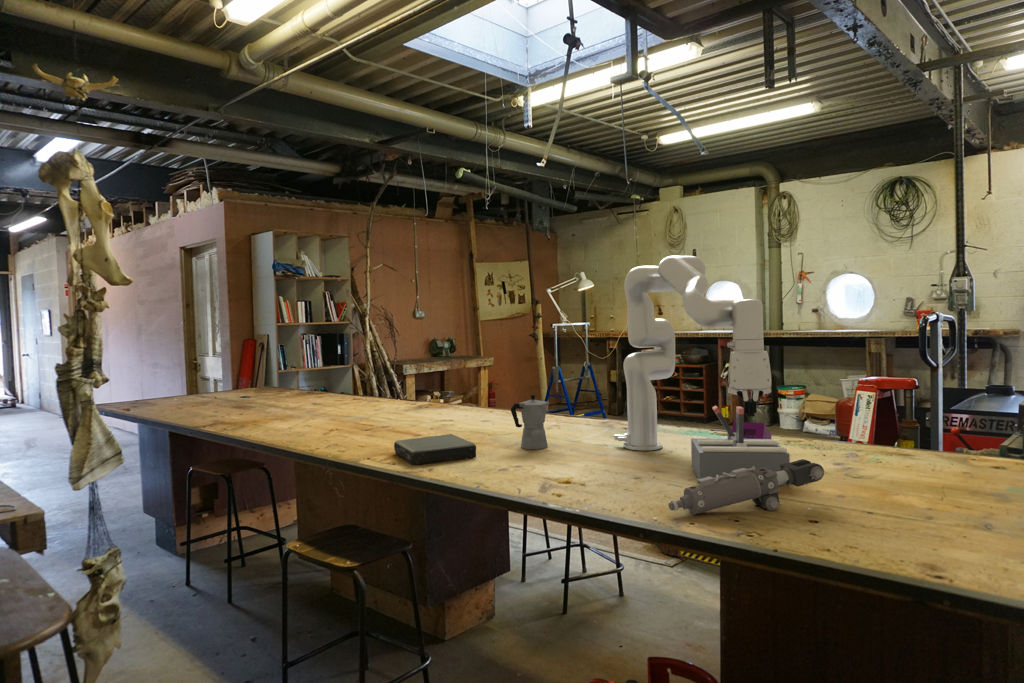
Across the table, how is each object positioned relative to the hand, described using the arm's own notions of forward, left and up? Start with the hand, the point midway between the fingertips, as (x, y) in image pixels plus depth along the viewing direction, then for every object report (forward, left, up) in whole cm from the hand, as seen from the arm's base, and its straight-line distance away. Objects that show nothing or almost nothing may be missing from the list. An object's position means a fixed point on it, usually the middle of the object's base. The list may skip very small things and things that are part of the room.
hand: (750, 415), depth 165 cm
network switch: (-94, +23, -18) cm, 98 cm away
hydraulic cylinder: (-6, -26, -17) cm, 32 cm away
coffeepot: (-64, +37, -17) cm, 75 cm away
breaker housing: (-3, +4, -17) cm, 17 cm away
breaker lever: (-3, 0, -8) cm, 8 cm away
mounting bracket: (+8, +39, -17) cm, 44 cm away
